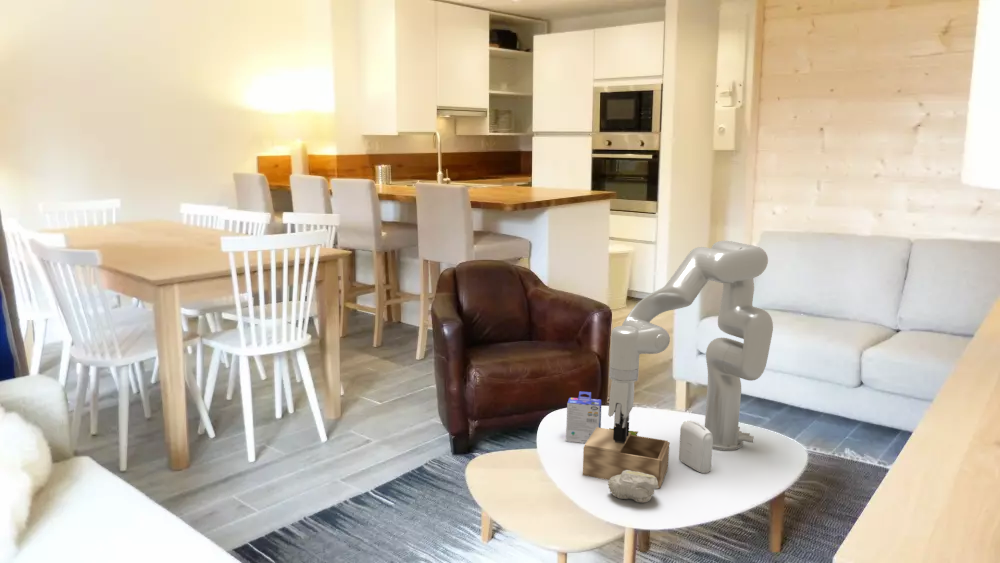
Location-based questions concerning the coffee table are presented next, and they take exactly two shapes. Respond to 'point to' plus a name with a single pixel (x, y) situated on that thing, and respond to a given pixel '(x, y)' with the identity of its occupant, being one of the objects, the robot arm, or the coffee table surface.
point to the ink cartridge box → (582, 417)
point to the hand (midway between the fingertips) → (620, 437)
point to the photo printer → (696, 446)
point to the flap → (606, 439)
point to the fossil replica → (633, 486)
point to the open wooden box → (629, 459)
